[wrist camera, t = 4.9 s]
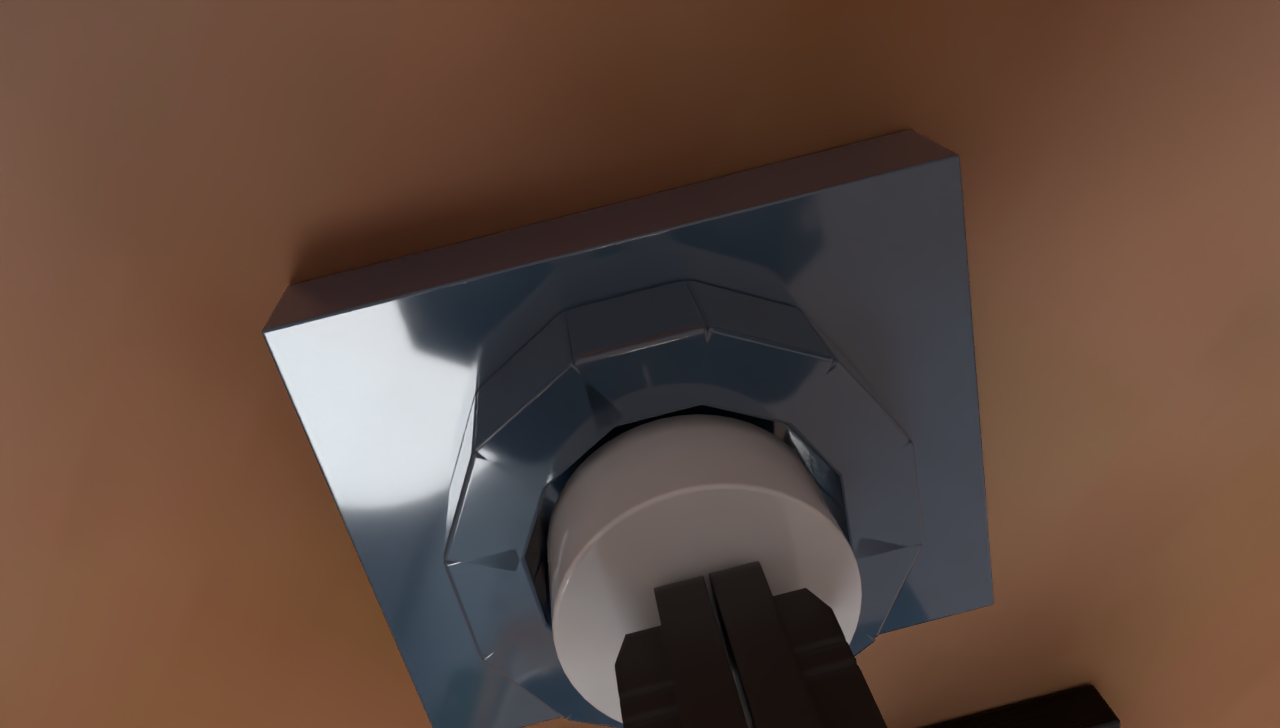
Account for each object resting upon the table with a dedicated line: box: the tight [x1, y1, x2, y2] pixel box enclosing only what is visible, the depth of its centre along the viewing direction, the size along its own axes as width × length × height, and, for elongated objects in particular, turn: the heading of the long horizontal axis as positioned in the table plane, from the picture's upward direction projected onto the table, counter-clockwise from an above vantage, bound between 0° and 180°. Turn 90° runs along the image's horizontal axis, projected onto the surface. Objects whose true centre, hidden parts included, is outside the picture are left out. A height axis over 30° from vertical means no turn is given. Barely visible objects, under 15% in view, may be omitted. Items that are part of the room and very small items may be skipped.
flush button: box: [547, 414, 862, 723], centre depth 15 cm, size 4×4×2 cm
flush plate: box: [262, 129, 994, 728], centre depth 17 cm, size 11×9×4 cm
